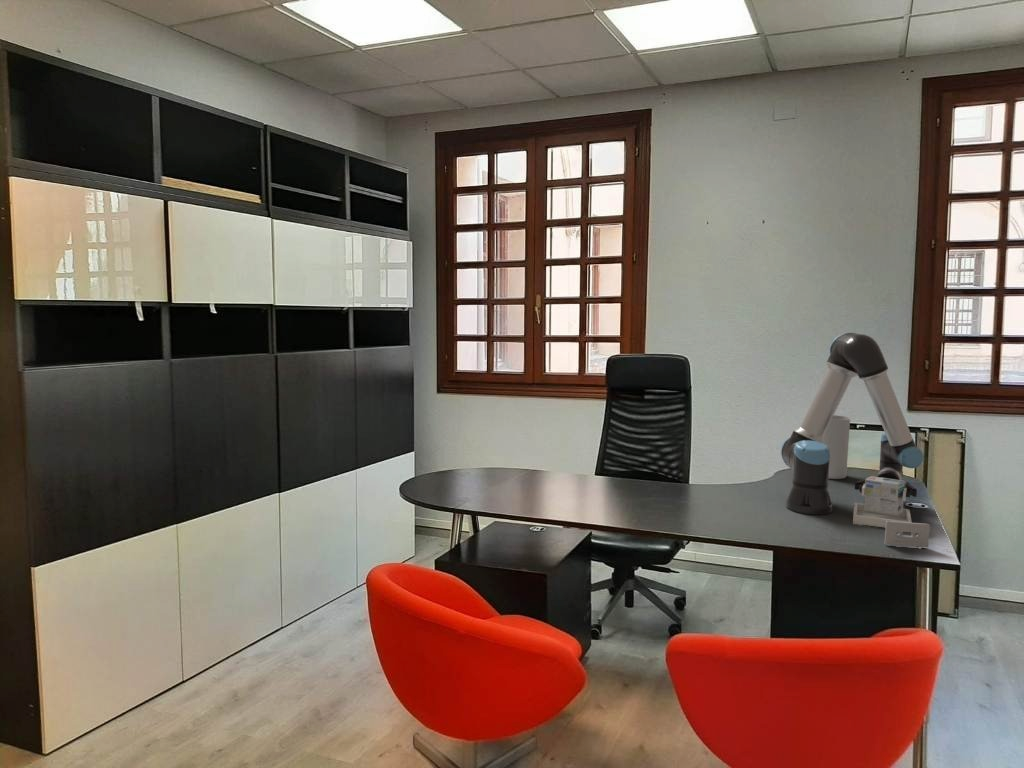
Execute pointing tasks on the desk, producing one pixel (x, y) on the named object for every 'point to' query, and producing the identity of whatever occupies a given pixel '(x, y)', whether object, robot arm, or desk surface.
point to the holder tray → (877, 516)
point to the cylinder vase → (837, 446)
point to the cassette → (904, 540)
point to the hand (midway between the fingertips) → (883, 494)
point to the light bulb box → (884, 495)
